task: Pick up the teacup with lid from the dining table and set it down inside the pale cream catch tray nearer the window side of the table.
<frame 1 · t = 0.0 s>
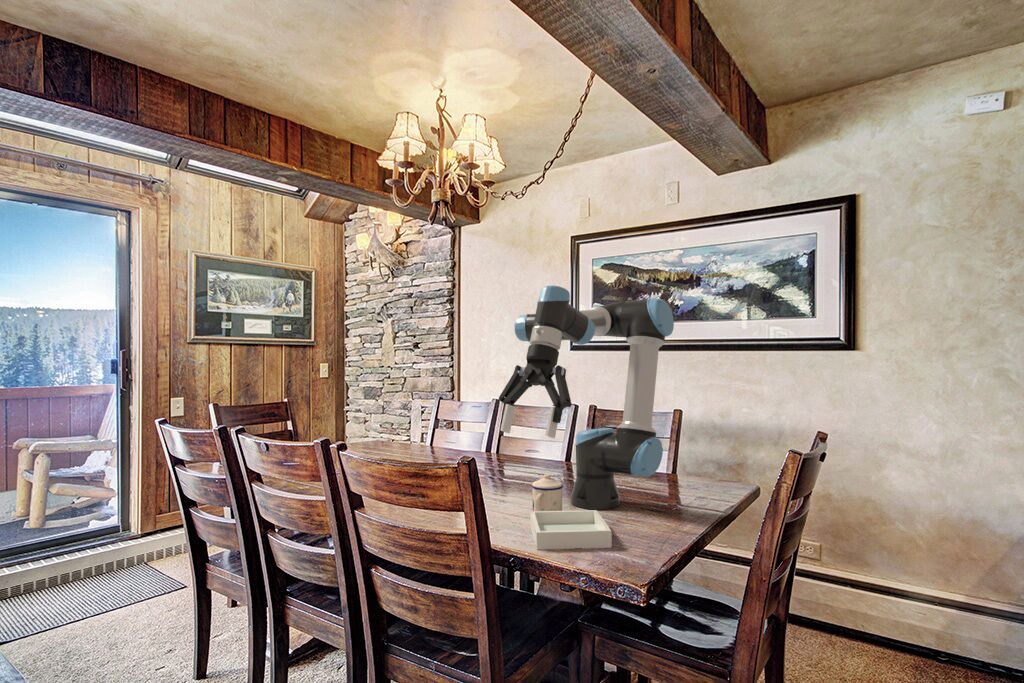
hand: (526, 434, 126), 28 cm above the table, tool tilted 20°, fingers open, 13 cm apart
catch tray: (568, 536, 139), on the table
teacup with lid: (545, 517, 157), on the table
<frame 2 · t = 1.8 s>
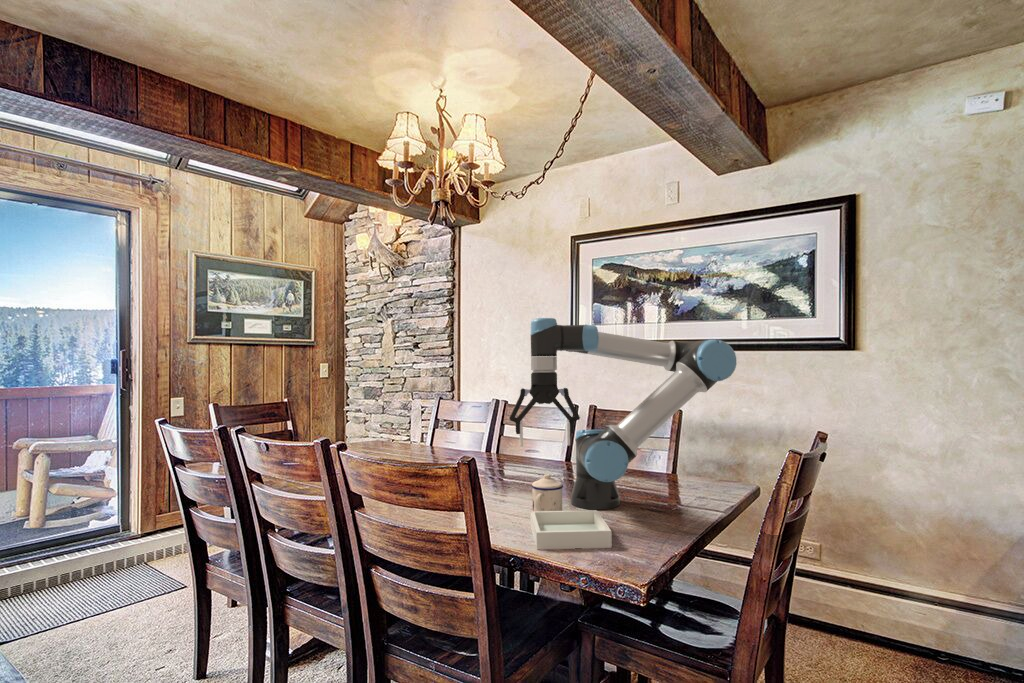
hand: (544, 445, 158), 20 cm above the table, tool pointing down, fingers open, 13 cm apart
nothing on the table moved.
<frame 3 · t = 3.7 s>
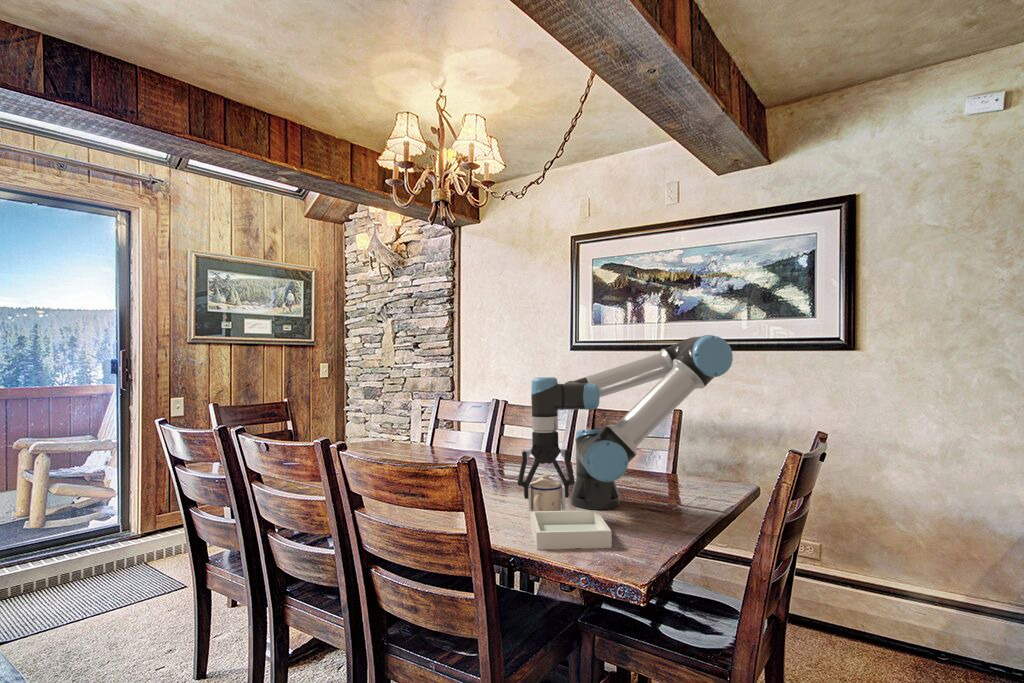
hand: (546, 509, 157), 2 cm above the table, tool pointing down, fingers closed on teacup with lid, 9 cm apart
teacup with lid: (544, 517, 157), on the table, touching gripper
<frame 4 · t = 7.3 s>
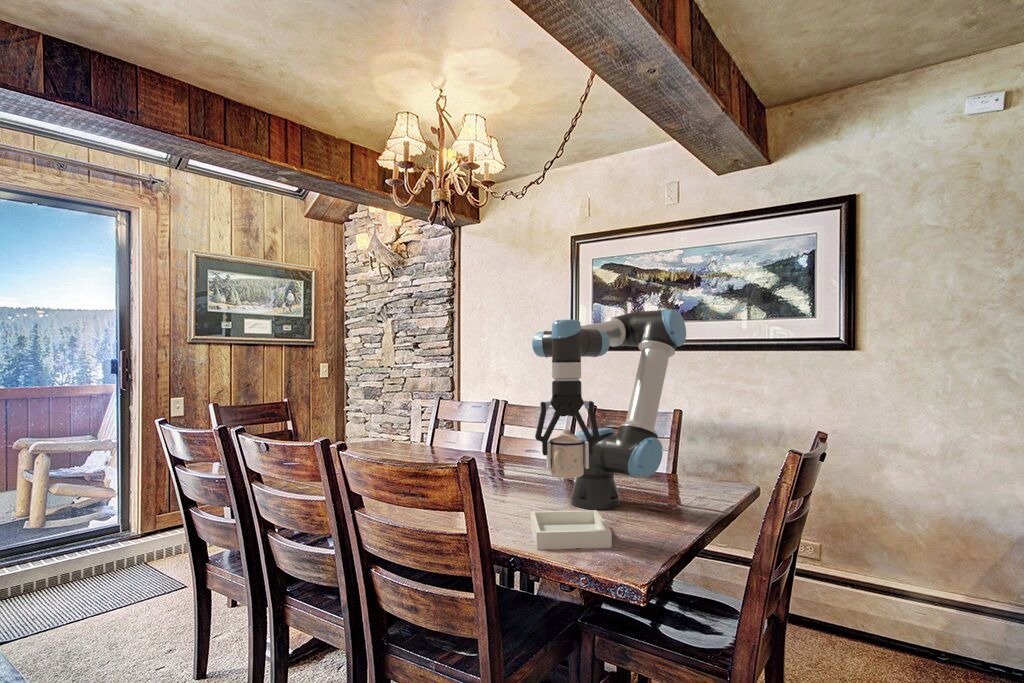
hand: (567, 467, 140), 17 cm above the table, tool pointing down, fingers closed on teacup with lid, 9 cm apart
teacup with lid: (564, 476, 140), point 15 cm above the table, touching gripper
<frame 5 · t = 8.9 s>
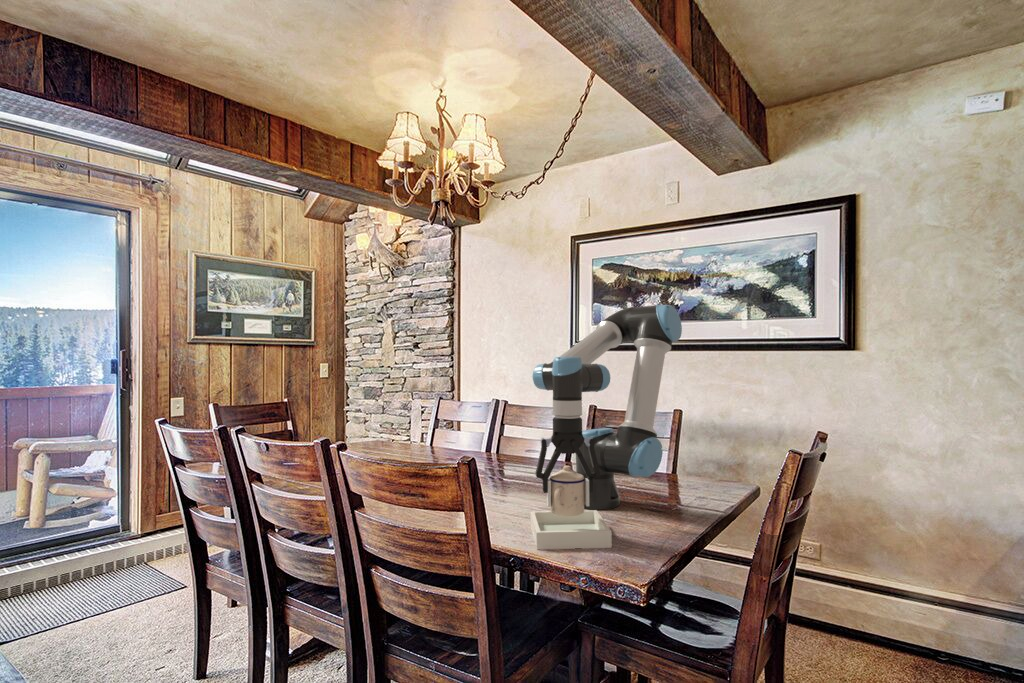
hand: (568, 505, 139), 8 cm above the table, tool pointing down, fingers closed on teacup with lid, 9 cm apart
teacup with lid: (565, 514, 139), point 6 cm above the table, touching gripper
when the fingers open (5 cm above the table, at t = 10.5 s): teacup with lid drops 2 cm, resting on catch tray.
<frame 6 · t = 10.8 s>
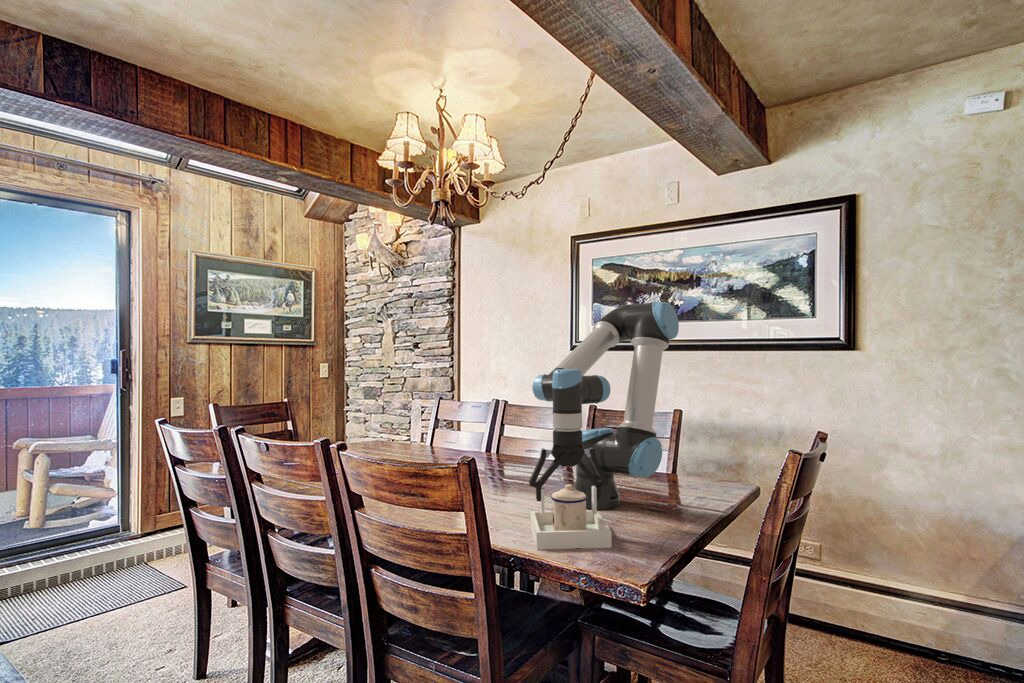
hand: (568, 513, 139), 6 cm above the table, tool pointing down, fingers open, 13 cm apart
teacup with lid: (567, 532, 139), point 1 cm above the table, touching catch tray
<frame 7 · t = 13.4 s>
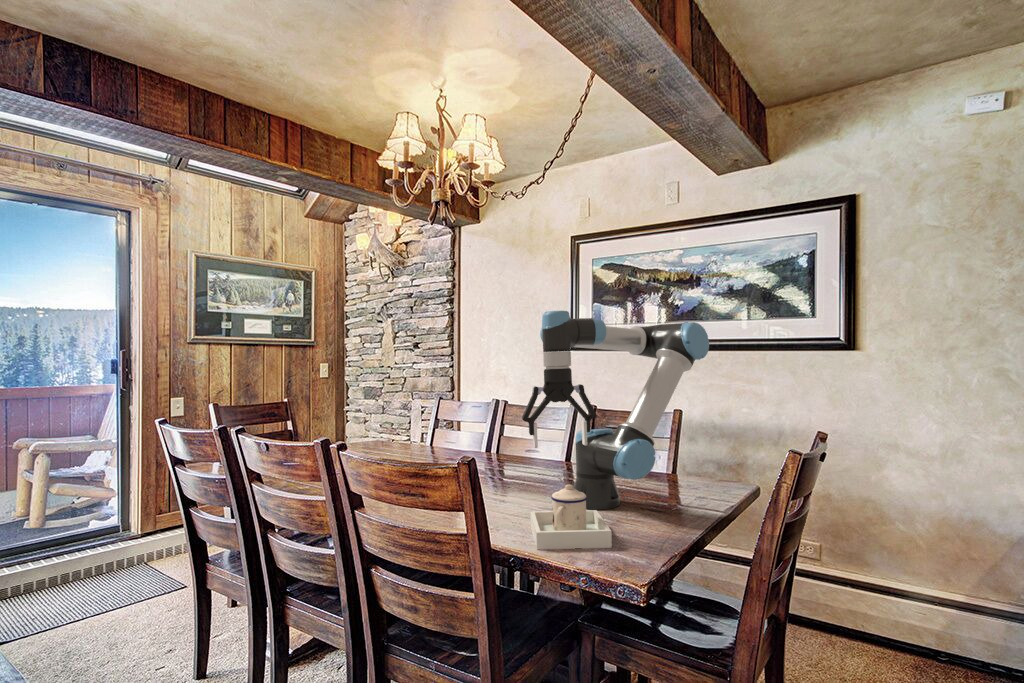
hand: (560, 446, 148), 22 cm above the table, tool pointing down, fingers open, 13 cm apart
nothing on the table moved.
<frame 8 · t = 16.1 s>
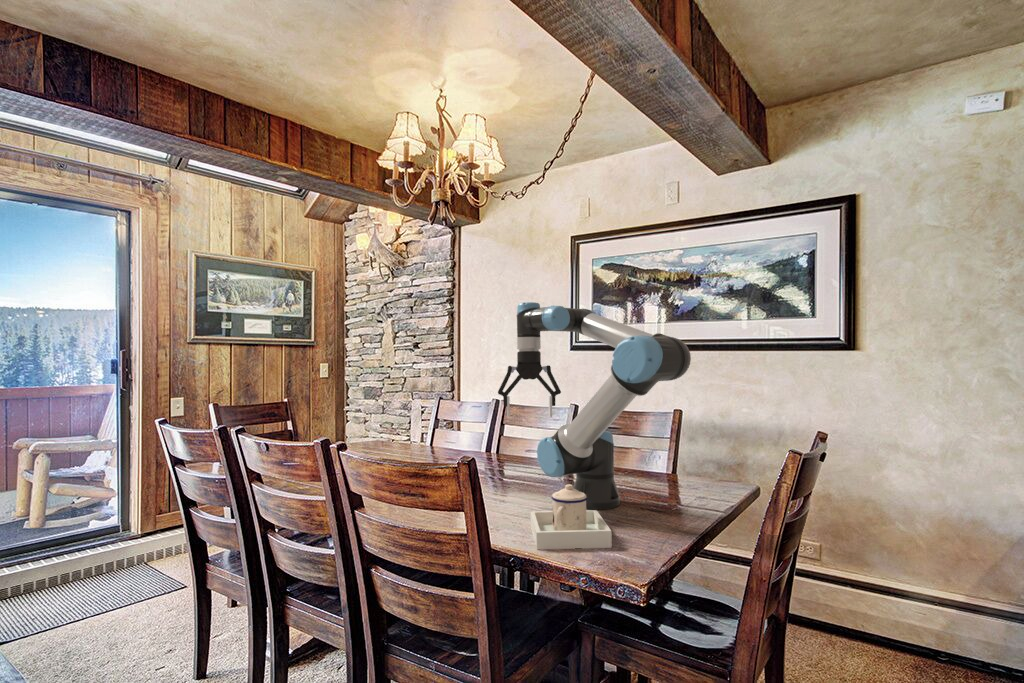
hand: (529, 416, 176), 27 cm above the table, tool pointing down, fingers open, 13 cm apart
nothing on the table moved.
at the end: teacup with lid inside the target area on the catch tray (0.4 cm from its centre), point 0.8 cm above the catch tray's base; teacup with lid tilted 0°; the gripper is holding nothing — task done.
